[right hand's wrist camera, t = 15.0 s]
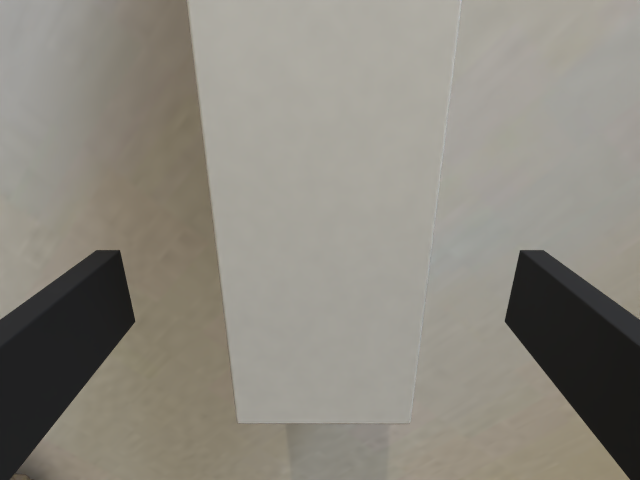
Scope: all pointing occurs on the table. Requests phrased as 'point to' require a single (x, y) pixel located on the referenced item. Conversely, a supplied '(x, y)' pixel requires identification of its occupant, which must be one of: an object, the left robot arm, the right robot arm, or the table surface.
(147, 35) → the table surface
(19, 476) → the stone
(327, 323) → the bar
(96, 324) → the right robot arm
